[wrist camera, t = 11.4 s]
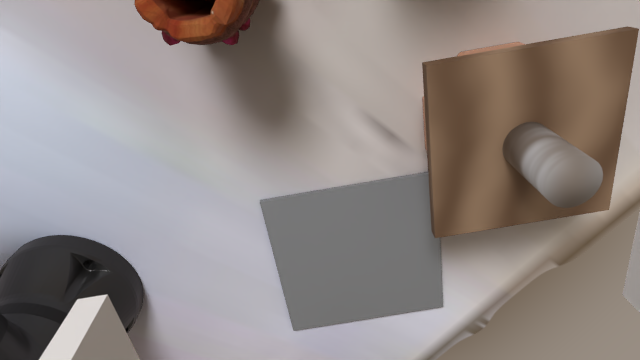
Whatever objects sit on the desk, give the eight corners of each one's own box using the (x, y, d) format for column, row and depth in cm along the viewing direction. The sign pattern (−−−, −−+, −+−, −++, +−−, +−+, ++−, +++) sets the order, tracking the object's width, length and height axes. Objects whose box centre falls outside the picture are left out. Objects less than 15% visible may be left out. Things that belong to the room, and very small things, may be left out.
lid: (431, 231, 41) (460, 289, 34) (422, 62, 34) (456, 91, 27) (600, 203, 41) (667, 256, 34) (628, 26, 34) (720, 45, 26)
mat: (293, 327, 56) (293, 330, 55) (260, 200, 47) (259, 202, 47) (441, 304, 55) (443, 306, 55) (435, 170, 46) (437, 172, 46)
